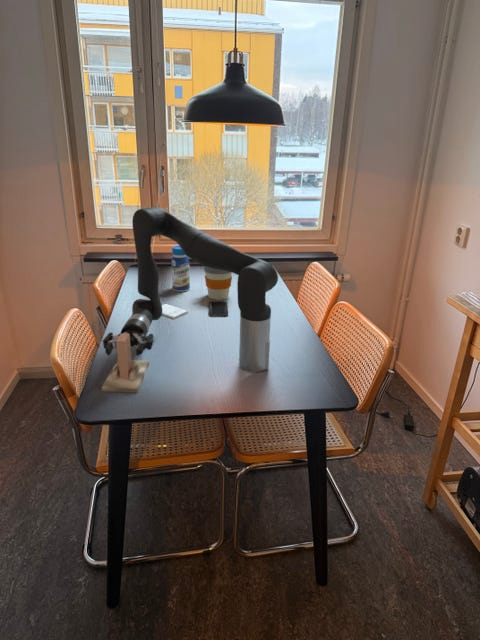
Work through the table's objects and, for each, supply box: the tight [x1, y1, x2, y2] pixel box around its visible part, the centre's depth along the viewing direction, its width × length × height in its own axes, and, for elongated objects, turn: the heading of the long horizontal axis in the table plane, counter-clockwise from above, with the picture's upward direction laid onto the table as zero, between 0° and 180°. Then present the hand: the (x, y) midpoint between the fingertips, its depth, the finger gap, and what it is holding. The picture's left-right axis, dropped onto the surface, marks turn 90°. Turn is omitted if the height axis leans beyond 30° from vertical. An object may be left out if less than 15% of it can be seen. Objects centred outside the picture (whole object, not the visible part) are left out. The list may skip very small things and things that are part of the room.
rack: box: [101, 359, 150, 393], centre depth 127 cm, size 16×10×3 cm, turn 179°
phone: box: [208, 300, 229, 318], centre depth 178 cm, size 8×1×15 cm
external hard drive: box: [161, 303, 189, 320], centre depth 174 cm, size 2×8×12 cm
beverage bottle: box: [170, 245, 191, 293], centre depth 196 cm, size 8×8×20 cm
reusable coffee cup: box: [203, 266, 233, 301], centre depth 189 cm, size 13×13×15 cm
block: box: [116, 333, 133, 378], centre depth 124 cm, size 5×2×12 cm, turn 179°
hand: (122, 352), depth 122 cm, fingers open, 8 cm apart
